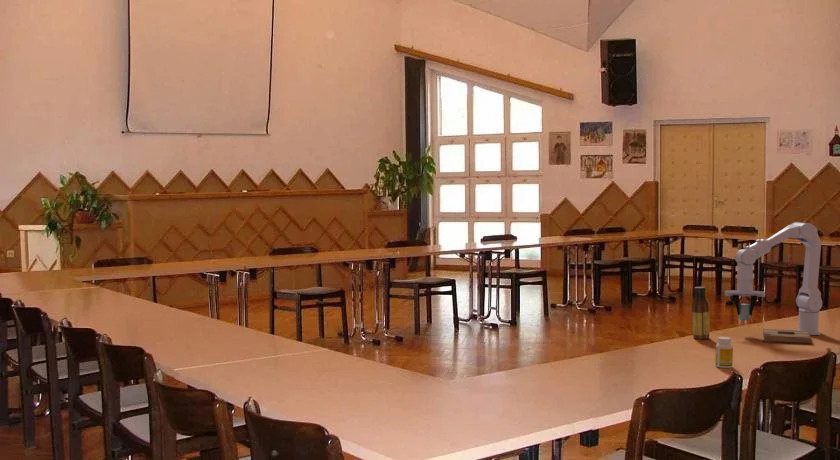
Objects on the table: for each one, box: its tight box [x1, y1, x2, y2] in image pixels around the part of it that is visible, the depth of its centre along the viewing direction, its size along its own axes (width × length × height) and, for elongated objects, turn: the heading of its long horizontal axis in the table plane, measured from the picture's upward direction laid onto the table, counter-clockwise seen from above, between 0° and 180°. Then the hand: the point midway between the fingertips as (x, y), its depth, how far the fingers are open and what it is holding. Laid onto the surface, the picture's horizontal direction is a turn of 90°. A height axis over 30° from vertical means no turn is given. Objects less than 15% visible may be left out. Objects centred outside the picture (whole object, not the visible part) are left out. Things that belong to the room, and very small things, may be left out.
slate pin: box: [738, 303, 751, 321], centre depth 360 cm, size 4×4×6 cm
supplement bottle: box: [714, 336, 734, 369], centre depth 303 cm, size 5×5×10 cm
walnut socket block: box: [762, 328, 812, 345], centre depth 351 cm, size 16×16×2 cm
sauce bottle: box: [691, 286, 710, 340], centre depth 355 cm, size 7×6×20 cm
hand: (744, 314), depth 361 cm, fingers closed on slate pin, 4 cm apart
